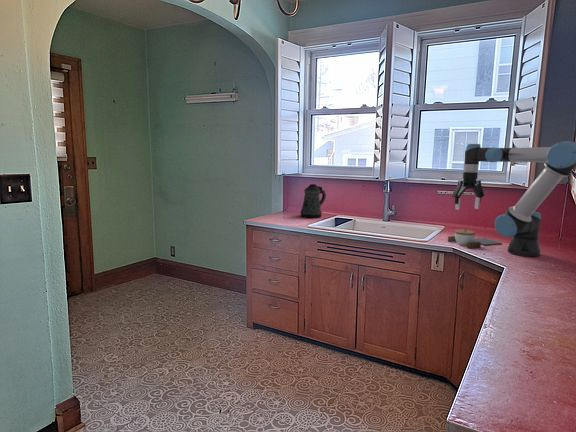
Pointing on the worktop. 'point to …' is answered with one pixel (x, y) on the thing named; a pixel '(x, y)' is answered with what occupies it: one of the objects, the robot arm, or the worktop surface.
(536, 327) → the worktop surface
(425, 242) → the worktop surface
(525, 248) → the robot arm
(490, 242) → the rubber mat
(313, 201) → the dark grey tall jug
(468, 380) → the worktop surface
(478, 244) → the pot cradle
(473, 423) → the worktop surface
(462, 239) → the lidded jar
